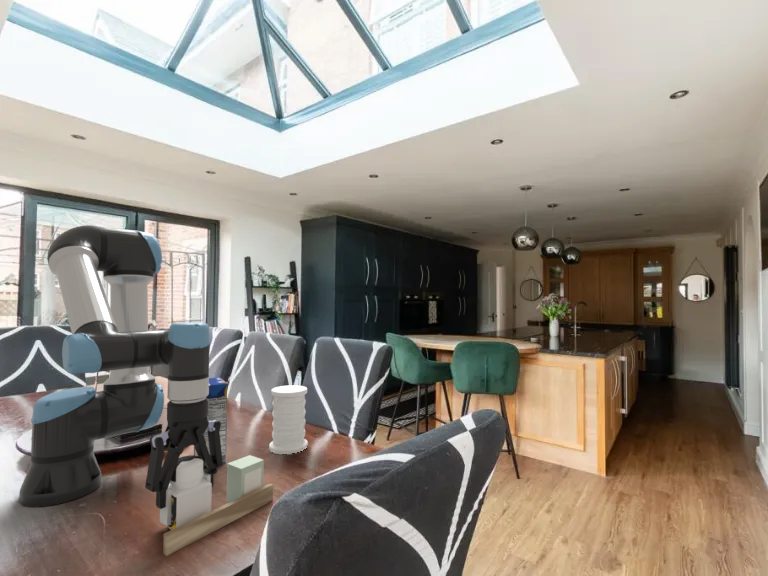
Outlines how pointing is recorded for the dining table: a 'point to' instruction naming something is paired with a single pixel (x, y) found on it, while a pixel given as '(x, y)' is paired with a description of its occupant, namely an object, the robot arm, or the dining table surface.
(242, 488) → the sage carton
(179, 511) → the medicine bottle
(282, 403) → the decorative container
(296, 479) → the dining table surface
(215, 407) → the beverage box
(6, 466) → the dining table surface
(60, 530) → the dining table surface
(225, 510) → the rail
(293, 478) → the dining table surface
